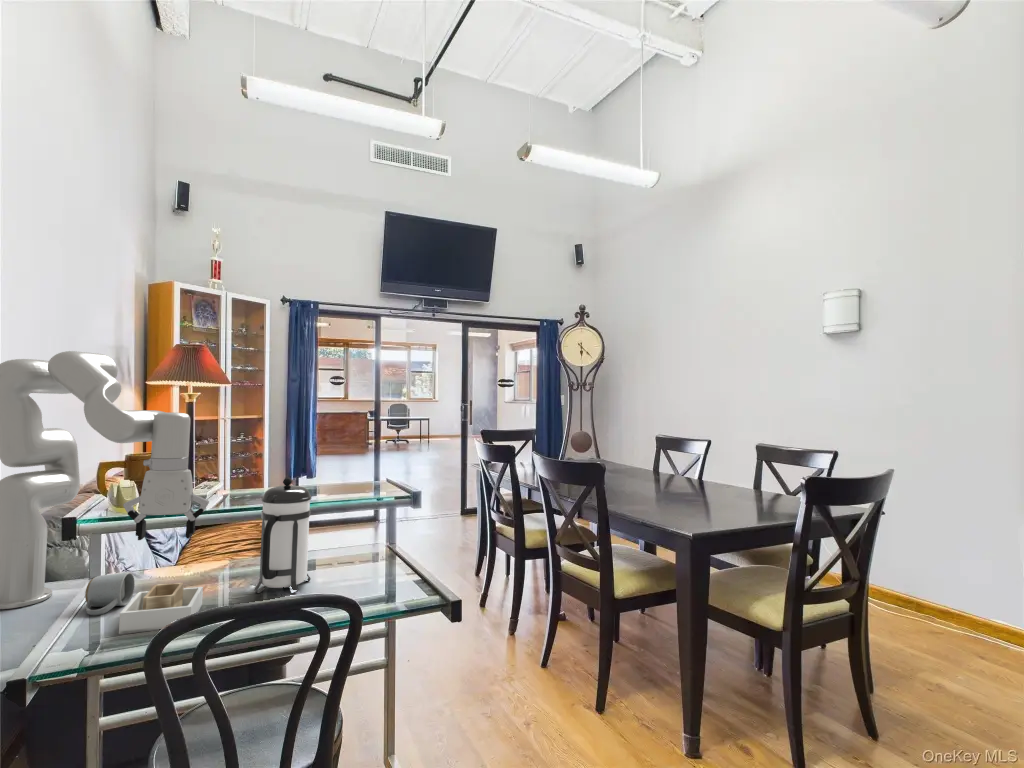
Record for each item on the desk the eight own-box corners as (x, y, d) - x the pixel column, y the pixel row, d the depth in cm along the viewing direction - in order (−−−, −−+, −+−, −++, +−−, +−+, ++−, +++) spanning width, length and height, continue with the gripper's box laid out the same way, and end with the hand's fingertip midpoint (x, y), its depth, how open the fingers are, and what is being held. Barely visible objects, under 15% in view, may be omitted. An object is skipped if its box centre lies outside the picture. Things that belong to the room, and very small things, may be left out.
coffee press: (242, 585, 149) (246, 476, 150) (300, 574, 160) (304, 472, 161) (261, 604, 136) (266, 485, 137) (323, 591, 146) (328, 480, 147)
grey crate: (118, 634, 117) (119, 613, 118) (138, 610, 130) (138, 591, 130) (190, 626, 122) (191, 606, 122) (202, 605, 135) (202, 586, 135)
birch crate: (142, 625, 121) (143, 598, 121) (153, 610, 129) (154, 584, 130) (173, 622, 123) (174, 595, 123) (182, 607, 131) (183, 582, 132)
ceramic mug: (98, 600, 136) (99, 569, 136) (134, 598, 138) (136, 568, 138) (74, 618, 126) (76, 584, 126) (114, 615, 128) (116, 582, 128)
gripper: (120, 467, 121) (116, 544, 121) (207, 466, 127) (203, 540, 127) (131, 463, 128) (127, 535, 128) (213, 462, 134) (209, 532, 134)
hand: (165, 537), depth 127 cm, fingers open, 9 cm apart
